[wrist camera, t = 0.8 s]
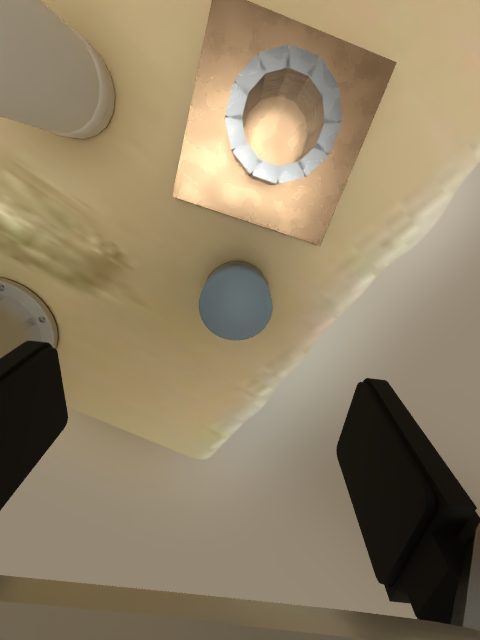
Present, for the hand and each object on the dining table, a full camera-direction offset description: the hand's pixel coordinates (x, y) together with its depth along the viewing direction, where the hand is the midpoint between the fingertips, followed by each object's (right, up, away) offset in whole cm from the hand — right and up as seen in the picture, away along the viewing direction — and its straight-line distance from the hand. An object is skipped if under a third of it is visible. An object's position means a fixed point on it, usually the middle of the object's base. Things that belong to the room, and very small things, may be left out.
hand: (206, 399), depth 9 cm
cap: (+1, +7, +25) cm, 26 cm away
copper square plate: (+4, +20, +19) cm, 28 cm away
